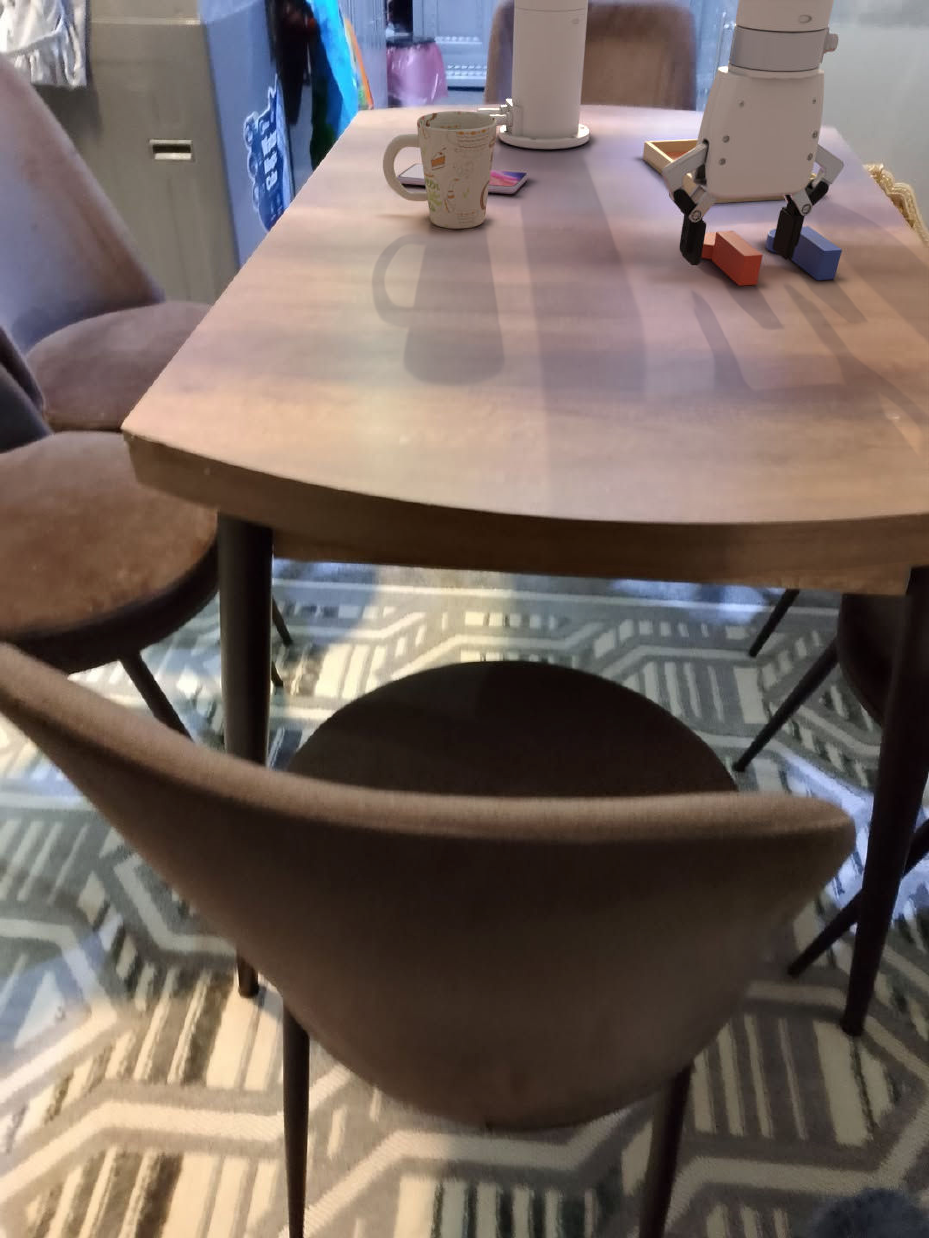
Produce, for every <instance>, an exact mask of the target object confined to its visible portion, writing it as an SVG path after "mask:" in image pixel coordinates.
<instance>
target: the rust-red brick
mask: <svg viewBox="0 0 929 1238" xmlns="http://www.w3.org/2000/svg"><path fill="white" fill-rule="evenodd" d="M701 259H706V260H711V262H713V263H714V265H716V266H717V267H718V268H719V269H720V270H721V271H722V272H723V273H724V274H726V275H727V277H729V278H730V279H731V280H732V281H733V282H734V283H736V284H737V286H739V287H740V286H741V287H742V286H754V285H755V286H756V285H757V284H758V278H759V275H760V269H761V264H762V261H763V254H762V253H761V252H759V251H758V249H756V248H755V247H754V246H753V245H752V244H750V243H749V242H748V241H746V240H745V238H743V237H742V236H740V235H739V234H738V233H737V232H736V231H734V230H724V231H723V230H722V231H716V232H705V238H704V244H703V250H702V256H701Z"/></svg>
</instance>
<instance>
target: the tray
mask: <svg viewBox="0 0 929 1238" xmlns="http://www.w3.org/2000/svg"><path fill="white" fill-rule="evenodd" d="M697 140H698V138H689V139H666V140H646V141H645V140H644V144H643V153H642V160H643V161H645V163H647V164H648V165H650V167H652V168H653V169H654V170H656V171H657V172H658V173H659V174H660V175H662V170H663V168H664V167H665V166H667V165H669V164H670V163H672V162H673V161H675V160H676V159H678V158H680V157H681V156H683V155H684V154H686V153H688V152H689V151H691V150H692V149H694V148H696V144H697ZM817 174H818V173H815V172H814V171H812V174H811V177H810V180H809V182H810V181H811V180H813V179H814V178H816V176H817ZM809 182H808V183H809ZM683 185H684V189H685V191H686V192H687V194H688V195H689V194H690V192H691V191H692V190H693V189H694V188H695V186H696V185H697V184H695V183H694V182H693V181H692V172H690V173H688V174H687V175H685V176H684V178H683ZM775 200H785V198H784V196H783V195H779V196H763V197H745V198H718V200H717V201H716V202H715V203H714V204H721V203H722V204H724V203H738V202H739V203H740V202H743V203H744V202H756V201H757V202H758V201H759V202H760V201H775Z"/></svg>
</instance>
